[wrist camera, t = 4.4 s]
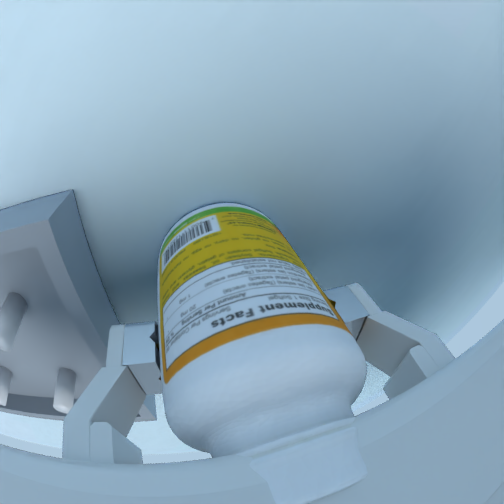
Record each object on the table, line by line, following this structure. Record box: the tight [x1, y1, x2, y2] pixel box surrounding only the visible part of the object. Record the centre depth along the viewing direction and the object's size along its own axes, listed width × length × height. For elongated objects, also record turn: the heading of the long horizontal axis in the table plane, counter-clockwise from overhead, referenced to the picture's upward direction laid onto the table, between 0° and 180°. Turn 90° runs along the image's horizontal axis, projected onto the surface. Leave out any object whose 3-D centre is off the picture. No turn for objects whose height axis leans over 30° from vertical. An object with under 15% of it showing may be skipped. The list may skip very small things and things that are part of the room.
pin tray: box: [0, 190, 157, 422], centre depth 9 cm, size 15×14×4 cm
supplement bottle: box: [157, 203, 367, 504], centre depth 8 cm, size 5×5×10 cm
